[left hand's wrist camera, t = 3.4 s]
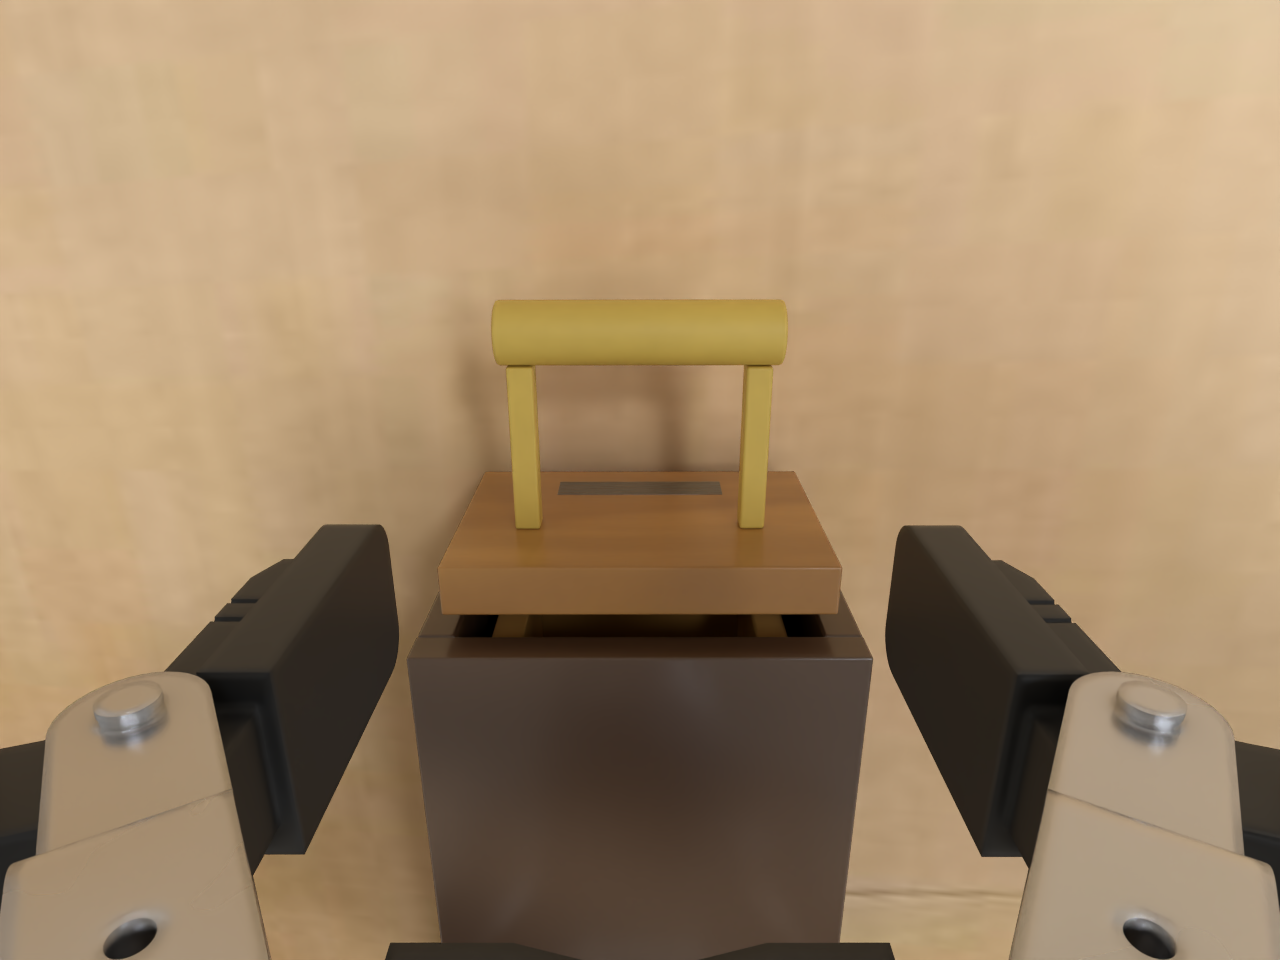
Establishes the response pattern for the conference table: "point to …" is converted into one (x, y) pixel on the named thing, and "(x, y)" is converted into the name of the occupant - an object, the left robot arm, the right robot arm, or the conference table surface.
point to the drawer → (639, 494)
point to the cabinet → (640, 785)
